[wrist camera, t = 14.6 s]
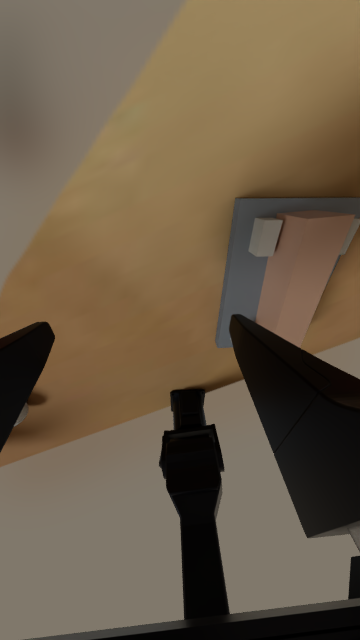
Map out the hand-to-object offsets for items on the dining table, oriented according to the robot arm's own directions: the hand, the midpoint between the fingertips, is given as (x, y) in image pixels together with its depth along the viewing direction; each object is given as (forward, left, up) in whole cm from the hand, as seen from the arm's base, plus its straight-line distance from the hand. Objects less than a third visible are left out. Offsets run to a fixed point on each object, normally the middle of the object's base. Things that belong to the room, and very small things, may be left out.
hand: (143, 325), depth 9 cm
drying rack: (-4, -14, -13) cm, 20 cm away
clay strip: (-4, -14, -12) cm, 19 cm away
